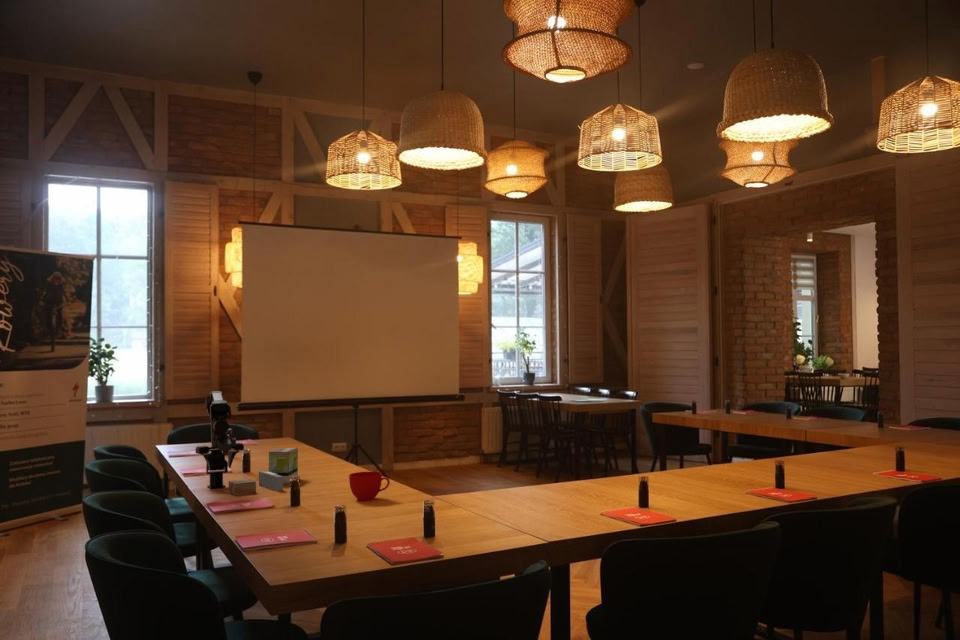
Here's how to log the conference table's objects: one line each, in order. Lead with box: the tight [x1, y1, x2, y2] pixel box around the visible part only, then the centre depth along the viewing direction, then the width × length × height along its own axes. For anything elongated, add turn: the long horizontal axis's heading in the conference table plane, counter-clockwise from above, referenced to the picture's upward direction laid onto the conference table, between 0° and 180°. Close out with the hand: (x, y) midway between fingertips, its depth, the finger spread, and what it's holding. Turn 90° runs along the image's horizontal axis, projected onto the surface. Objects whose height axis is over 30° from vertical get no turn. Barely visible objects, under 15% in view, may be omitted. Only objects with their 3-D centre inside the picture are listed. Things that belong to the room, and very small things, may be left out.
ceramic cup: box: [348, 471, 391, 502], centre depth 303 cm, size 13×17×10 cm
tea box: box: [268, 447, 299, 484], centre depth 354 cm, size 15×10×15 cm, turn 179°
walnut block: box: [228, 478, 257, 496], centre depth 326 cm, size 9×9×5 cm
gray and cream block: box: [258, 470, 284, 492], centre depth 337 cm, size 22×3×6 cm, turn 37°
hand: (220, 468), depth 321 cm, fingers open, 8 cm apart
